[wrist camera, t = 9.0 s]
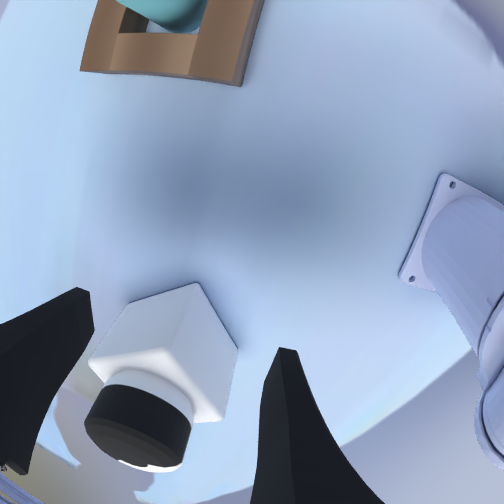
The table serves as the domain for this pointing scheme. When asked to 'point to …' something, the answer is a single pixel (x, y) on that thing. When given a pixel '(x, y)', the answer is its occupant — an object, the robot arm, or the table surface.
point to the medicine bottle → (160, 378)
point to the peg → (170, 13)
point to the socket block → (173, 43)
